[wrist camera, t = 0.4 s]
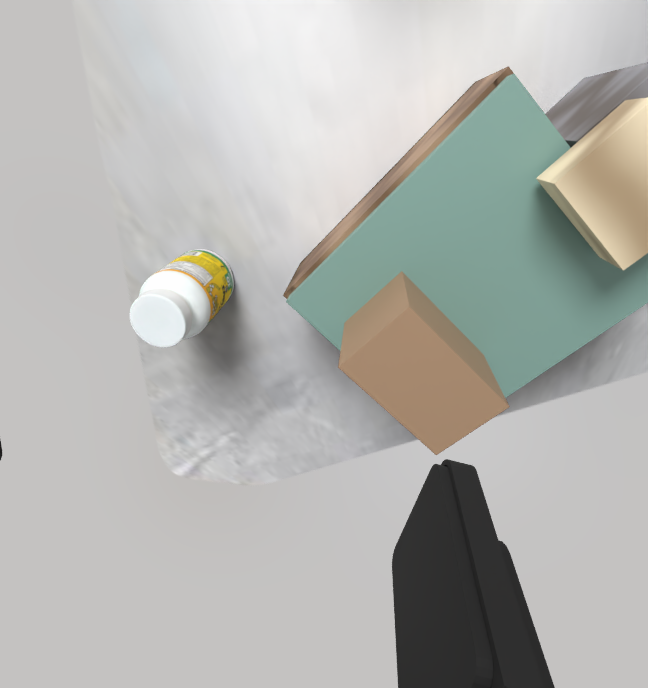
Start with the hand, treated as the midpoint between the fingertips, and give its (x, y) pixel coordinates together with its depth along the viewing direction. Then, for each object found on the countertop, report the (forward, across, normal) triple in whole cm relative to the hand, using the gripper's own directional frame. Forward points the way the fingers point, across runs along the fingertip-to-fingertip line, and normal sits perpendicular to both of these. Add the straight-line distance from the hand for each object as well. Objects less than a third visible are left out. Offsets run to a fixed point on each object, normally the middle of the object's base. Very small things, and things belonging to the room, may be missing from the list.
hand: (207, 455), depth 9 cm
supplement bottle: (+29, +9, +8) cm, 31 cm away
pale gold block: (+19, -15, -7) cm, 25 cm away
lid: (+20, -10, +1) cm, 23 cm away
